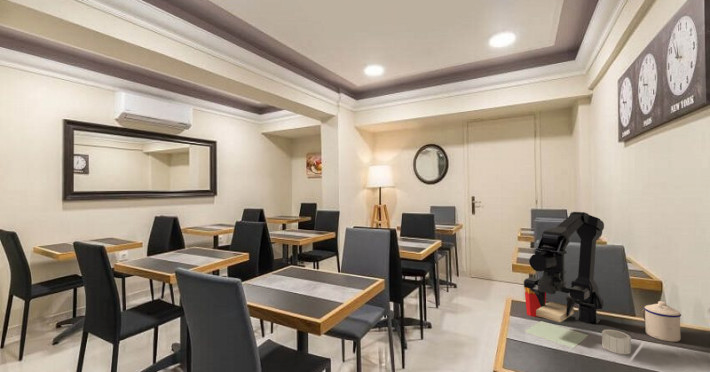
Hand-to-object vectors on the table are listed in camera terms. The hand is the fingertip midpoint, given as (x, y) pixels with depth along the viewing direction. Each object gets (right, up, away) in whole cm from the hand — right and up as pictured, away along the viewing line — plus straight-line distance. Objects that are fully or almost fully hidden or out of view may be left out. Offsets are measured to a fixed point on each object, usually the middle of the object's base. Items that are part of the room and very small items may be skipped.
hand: (555, 312), depth 111 cm
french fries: (+3, -8, +17) cm, 19 cm away
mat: (0, -8, 0) cm, 8 cm away
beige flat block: (0, -1, 0) cm, 1 cm away
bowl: (+12, -8, -11) cm, 18 cm away
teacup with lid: (+36, -8, 0) cm, 37 cm away
